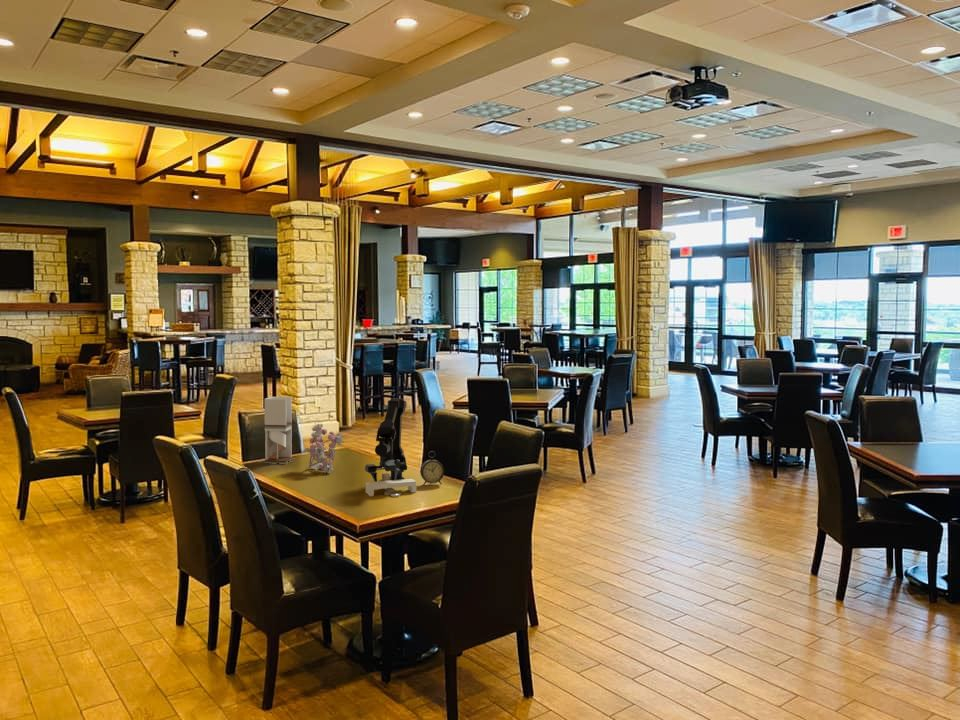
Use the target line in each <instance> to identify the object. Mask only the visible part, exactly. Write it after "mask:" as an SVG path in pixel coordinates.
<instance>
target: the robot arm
mask: <svg viewBox="0 0 960 720" xmlns="http://www.w3.org/2000/svg"><path fill="white" fill-rule="evenodd" d="M407 405H408V403H407V401H406V400H405V398H396V397H395V398H391V399H389V400H387V410H386V413H385V417H384V420H383V421H381V422H380V424H379V427H378V428H377V432H376V438H375V441H376V442H378V444H377V445H376V446H375V447H374V452H375V454H376V456H378V457H379V465H376V464H375V463H371V464H370V463H368V464H366V465H365V466H364V471H365V472H367V473H368V474H369V475H371V477H372V480H373V482H377V481H378V472H377V471H379V470H382V471H383V470H385V472H390V480H391V479H392V480H398V479H399V480H402V479H405V477H404V476H403V473H404V472H405V471H407V470H408V465H407V459H406V456H405V454H404V452H405V451H404V449H403V447H402V445H401V444H402V420H403V415H404V414H405V412H406V409H407Z"/></svg>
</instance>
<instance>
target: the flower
mask: <svg viewBox="0 0 960 720" xmlns="http://www.w3.org/2000/svg"><path fill="white" fill-rule="evenodd" d="M323 427H324V425H323V423H322V422H321V423H318V424H317V423H316V422H314V425H313V426H312V427H311V430H312V433H310V434H311V438H310V439H309V444H310V445H309V447H305V448H304V449H303V450H302V452H301V453H300V455H301V454H306V453H309V454H310V457H309V465H308V466H307V468H308V469H312V470H314V469H318V470H320V471H321V472H324V474H331V473H332V472H334V471H335V468H333V461H334V460H335V455H336V454H337V450H335V449H336V445H337V446H343V444H342V443H345V442H344V440H345V438H344V436H343V435H342V434H343V433H342V432H338V433H334V432H333V431H330V432H328V430H327V429H326V428H323ZM327 434H328V436H327V440H325V441H324V439H323V436H326V435H327ZM328 442H331V443H329V444H328V449H327V448H326V447H325V443H328ZM326 450H327V451H326ZM328 459H329V460H328ZM314 461H315V462H314ZM313 462H314V463H313ZM331 471H332V472H331ZM329 472H330V473H329Z"/></svg>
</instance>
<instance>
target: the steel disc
mask: <svg viewBox="0 0 960 720" xmlns="http://www.w3.org/2000/svg"><path fill="white" fill-rule="evenodd" d="M389 496H390V497H391V496H392V497H391V498H397V497H396V496H400V497H401V494H400V493H390V495H389Z"/></svg>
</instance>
